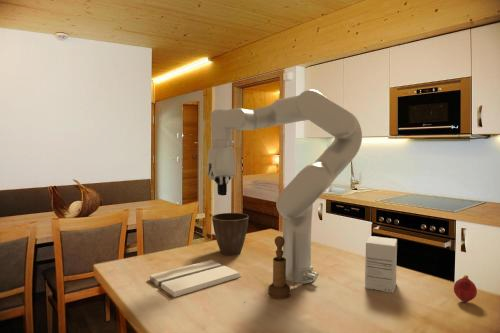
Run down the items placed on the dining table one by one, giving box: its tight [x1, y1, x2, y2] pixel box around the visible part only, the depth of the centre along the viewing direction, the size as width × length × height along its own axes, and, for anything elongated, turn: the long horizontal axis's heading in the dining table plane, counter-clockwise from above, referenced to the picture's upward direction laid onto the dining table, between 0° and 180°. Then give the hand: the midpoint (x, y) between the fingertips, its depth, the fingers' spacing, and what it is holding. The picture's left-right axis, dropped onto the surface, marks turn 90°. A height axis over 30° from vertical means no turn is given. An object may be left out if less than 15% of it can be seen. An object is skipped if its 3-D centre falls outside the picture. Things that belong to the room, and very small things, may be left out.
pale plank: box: [161, 265, 240, 298], centre depth 116 cm, size 9×24×2 cm, turn 129°
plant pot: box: [211, 212, 249, 256], centre depth 147 cm, size 15×15×16 cm
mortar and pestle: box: [267, 235, 291, 300], centre depth 109 cm, size 7×6×18 cm
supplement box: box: [364, 235, 398, 294], centre depth 116 cm, size 9×9×15 cm
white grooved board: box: [147, 259, 242, 300], centre depth 119 cm, size 17×26×3 cm, turn 129°
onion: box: [453, 274, 478, 303], centre depth 104 cm, size 6×6×8 cm
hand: (222, 194), depth 131 cm, fingers closed
